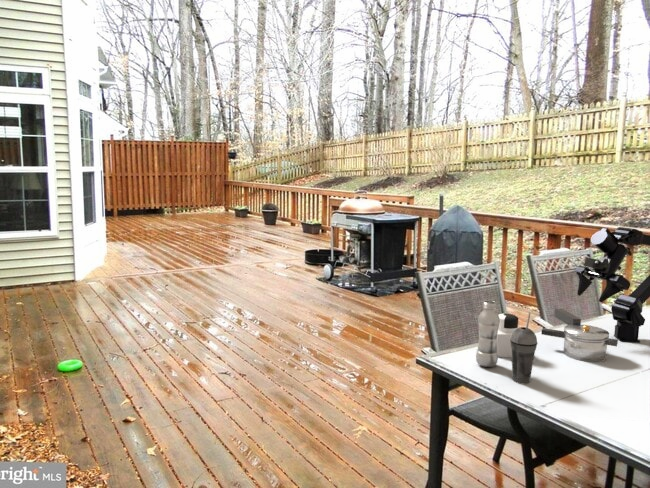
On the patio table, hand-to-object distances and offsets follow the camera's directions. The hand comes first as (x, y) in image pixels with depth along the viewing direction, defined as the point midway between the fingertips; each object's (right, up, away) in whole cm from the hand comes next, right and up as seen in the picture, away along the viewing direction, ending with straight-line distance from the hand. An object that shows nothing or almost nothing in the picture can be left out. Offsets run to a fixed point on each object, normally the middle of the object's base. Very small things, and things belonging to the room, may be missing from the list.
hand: (588, 298), depth 175 cm
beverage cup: (-34, -21, -28) cm, 49 cm away
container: (-31, -18, -7) cm, 36 cm away
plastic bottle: (-41, -19, -18) cm, 48 cm away
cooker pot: (-7, -17, -7) cm, 20 cm away
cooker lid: (-6, -10, -3) cm, 12 cm away
